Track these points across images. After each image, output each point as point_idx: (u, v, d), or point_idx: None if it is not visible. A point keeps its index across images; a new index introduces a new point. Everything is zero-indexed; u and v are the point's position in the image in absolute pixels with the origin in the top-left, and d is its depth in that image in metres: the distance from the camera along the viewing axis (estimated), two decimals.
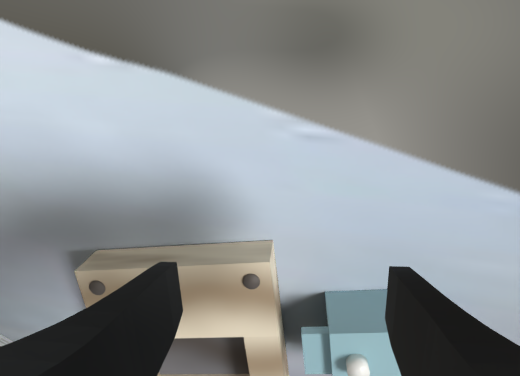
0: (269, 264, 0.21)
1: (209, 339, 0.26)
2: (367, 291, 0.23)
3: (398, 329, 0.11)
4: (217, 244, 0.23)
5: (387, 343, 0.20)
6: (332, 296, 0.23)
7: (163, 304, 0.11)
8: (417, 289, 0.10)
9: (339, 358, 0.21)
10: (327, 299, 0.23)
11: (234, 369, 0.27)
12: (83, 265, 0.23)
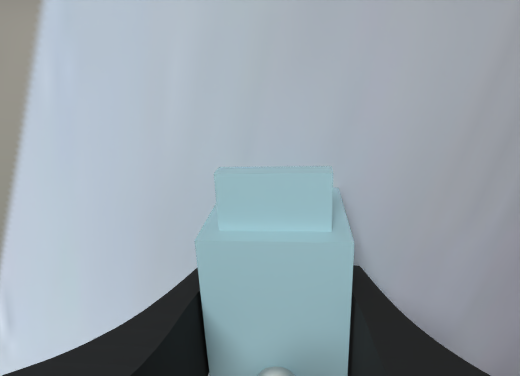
0: None
1: None
2: None
3: None
4: None
5: (230, 333, 0.10)
6: None
7: None
8: (358, 287, 0.10)
9: None
10: None
11: None
12: None
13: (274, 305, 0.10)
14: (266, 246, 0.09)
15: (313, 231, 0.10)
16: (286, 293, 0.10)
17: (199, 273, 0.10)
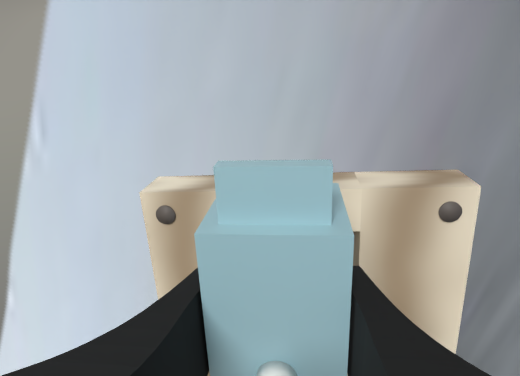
0: (143, 192, 0.18)
1: None
2: None
3: None
4: None
5: (230, 327, 0.10)
6: None
7: None
8: (358, 287, 0.10)
9: None
10: None
11: None
12: None
13: (274, 299, 0.10)
14: (266, 239, 0.09)
15: (313, 225, 0.09)
16: (285, 287, 0.10)
17: (198, 267, 0.10)
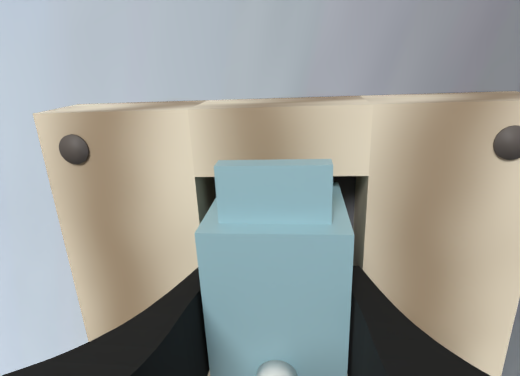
0: (39, 114, 0.12)
1: None
2: None
3: None
4: None
5: (230, 326, 0.10)
6: None
7: None
8: (358, 287, 0.10)
9: None
10: None
11: (344, 197, 0.14)
12: None
13: (274, 298, 0.10)
14: (266, 239, 0.09)
15: (313, 224, 0.09)
16: (286, 286, 0.10)
17: (199, 266, 0.10)
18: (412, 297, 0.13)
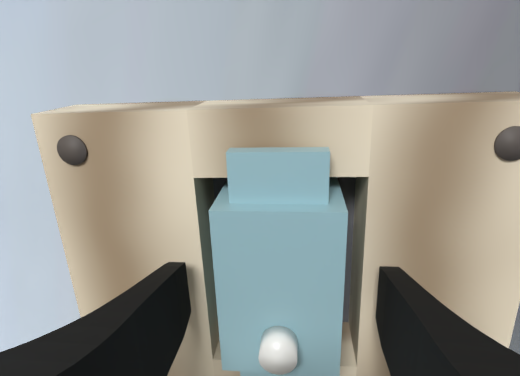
0: (37, 115, 0.12)
1: None
2: None
3: (388, 329, 0.11)
4: None
5: (238, 295, 0.11)
6: None
7: (173, 305, 0.11)
8: (405, 289, 0.10)
9: None
10: None
11: (344, 198, 0.14)
12: None
13: (277, 269, 0.11)
14: (271, 216, 0.10)
15: (313, 204, 0.11)
16: (288, 258, 0.11)
17: (212, 240, 0.11)
18: None
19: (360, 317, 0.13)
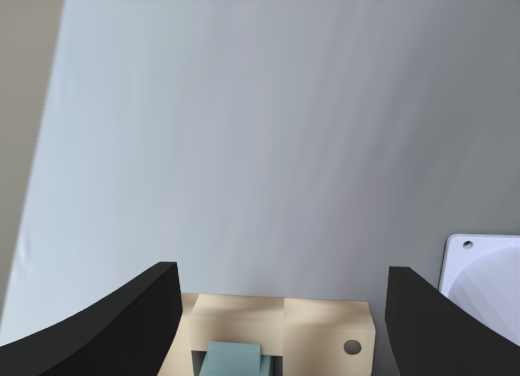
0: None
1: None
2: None
3: (398, 329, 0.11)
4: None
5: None
6: None
7: (164, 304, 0.11)
8: (417, 289, 0.10)
9: None
10: None
11: None
12: None
13: None
14: None
15: (252, 373, 0.21)
16: None
17: None
18: None
19: None
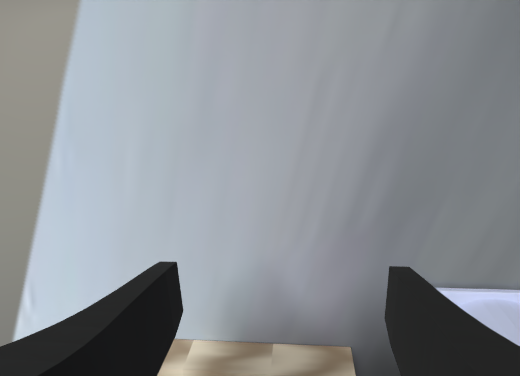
0: None
1: None
2: None
3: (399, 329, 0.11)
4: None
5: None
6: None
7: (163, 304, 0.11)
8: (417, 289, 0.10)
9: None
10: None
11: None
12: None
13: None
14: None
15: None
16: None
17: None
18: None
19: None
